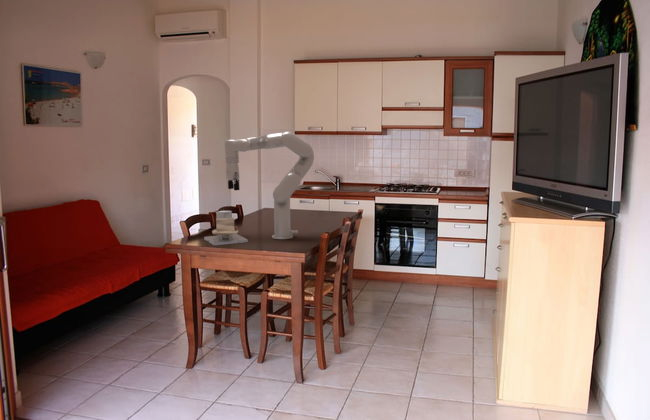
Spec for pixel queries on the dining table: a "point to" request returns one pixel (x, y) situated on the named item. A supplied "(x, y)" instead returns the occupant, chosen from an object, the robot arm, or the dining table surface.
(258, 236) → the dining table surface
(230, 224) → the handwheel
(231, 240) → the eye plate
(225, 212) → the skincare box
